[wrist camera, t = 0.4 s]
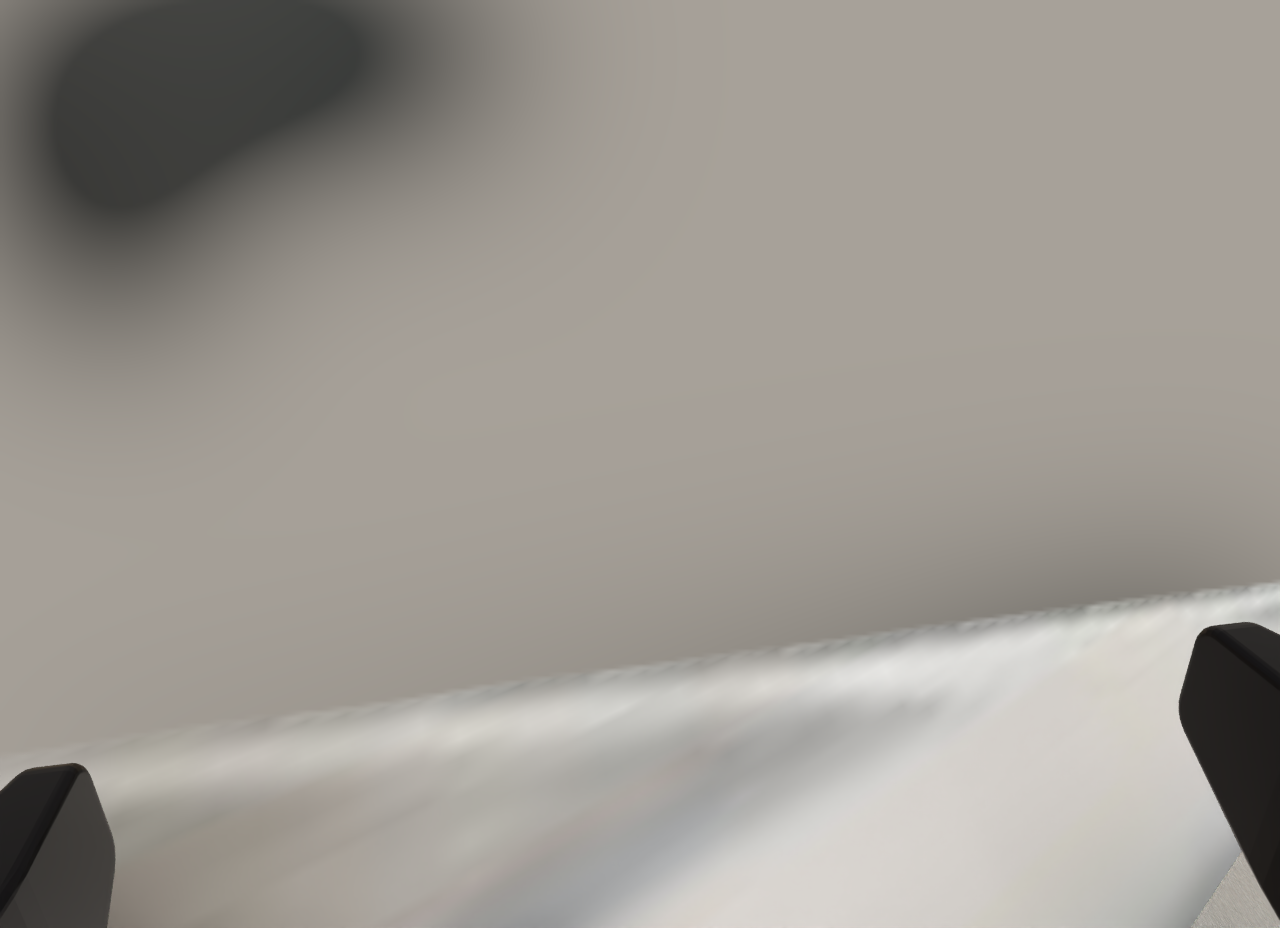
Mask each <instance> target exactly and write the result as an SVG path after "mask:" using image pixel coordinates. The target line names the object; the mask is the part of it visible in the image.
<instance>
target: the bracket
mask: <svg viewBox="0 0 1280 928" xmlns="http://www.w3.org/2000/svg"><path fill="white" fill-rule="evenodd" d="M1191 928H1280V920H1279V919H1278V917H1277V915H1276V914H1275V912H1274V910H1273V908H1272V907H1271V905H1270V903H1269V901H1268V900H1267V898H1266V896H1265V895H1264V893H1263V891H1262V889H1261V888H1260V886H1259V884H1258V882H1257V880H1256V878H1255V876H1254V874H1253V872H1252V870H1251V868H1250V866H1249V865H1248V863H1247V861H1246V859H1245V856H1244V854H1243V852H1241V853H1240V855H1239V856H1238V858H1237V859H1236V861H1235V862H1234V864H1233V865H1232V867H1231V868H1230V870H1229V871H1228V873H1227V874H1226V876H1225V877H1224V879H1223V880H1222V882H1221V883H1220V885H1219V886H1218V888H1217V889H1216V891H1215V892H1214V894H1213V895H1212V897H1211V898H1210V900H1209V901H1208V903H1207V904H1206V906H1205V907H1204V908H1203V910H1202V911H1201V913H1200V914H1199V916H1198V917H1197V919H1196V920H1195V922H1194V923H1193V925H1192V926H1191Z"/></svg>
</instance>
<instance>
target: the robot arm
mask: <svg viewBox="0 0 1280 928" xmlns="http://www.w3.org/2000/svg"><path fill="white" fill-rule="evenodd" d="M1179 715H1180V720H1181V724H1182V727H1183V729H1184V732H1185V734H1186V736H1187V738H1188V740H1189V742H1190V744H1191V747H1192V749H1193V751H1194V753H1195V755H1196V757H1197V759H1198V761H1199V763H1200V765H1201V767H1202V769H1203V771H1204V774H1205V776H1206V778H1207V780H1208V782H1209V784H1210V786H1211V788H1212V790H1213V792H1214V794H1215V796H1216V798H1217V800H1218V803H1219V805H1220V807H1221V809H1222V811H1223V813H1224V815H1225V817H1226V819H1227V821H1228V823H1229V825H1230V827H1231V830H1232V832H1233V834H1234V836H1235V838H1236V840H1237V842H1238V844H1239V846H1240V848H1241V850H1242V852H1243V854H1244V856H1245V859H1246V861H1247V863H1248V865H1249V866H1250V868H1251V870H1252V872H1253V874H1254V876H1255V878H1256V880H1257V882H1258V884H1259V886H1260V888H1261V889H1262V891H1263V893H1264V895H1265V896H1266V898H1267V900H1268V901H1269V903H1270V905H1271V907H1272V908H1273V910H1274V912H1275V914H1276V915H1277V917H1278V919H1279V920H1280V635H1279V634H1277V633H1275V632H1273V631H1271V630H1269V629H1267V628H1265V627H1263V626H1260V625H1258V624H1255V623H1251V622H1241V623H1233V624H1224V625H1216V626H1210V627H1207V628H1205V629H1203V631H1202V632H1201V633H1200V634H1199V635H1198V636H1197V639H1196V641H1195V644H1194V648H1193V651H1192V655H1191V658H1190V662H1189V665H1188V669H1187V673H1186V676H1185V680H1184V683H1183V687H1182V690H1181V694H1180V698H1179ZM114 872H115V846H114V840H113V836H112V833H111V830H110V828H109V825H108V822H107V819H106V817H105V814H104V811H103V808H102V806H101V803H100V800H99V798H98V795H97V792H96V789H95V787H94V784H93V781H92V778H91V776H90V774H89V772H88V771H87V770H86V768H85V767H84V766H82V765H80V764H76V763H69V764H61V765H52V766H44V767H36V768H31V769H27V770H25V771H23V772H21V773H20V774H19V775H17V776H16V777H15V778H14V779H13V780H12V781H10V782H9V783H8V784H7V785H6V786H5V787H4V788H3V789H2V790H1V791H0V928H107V924H108V916H109V909H110V902H111V894H112V887H113V880H114Z"/></svg>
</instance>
